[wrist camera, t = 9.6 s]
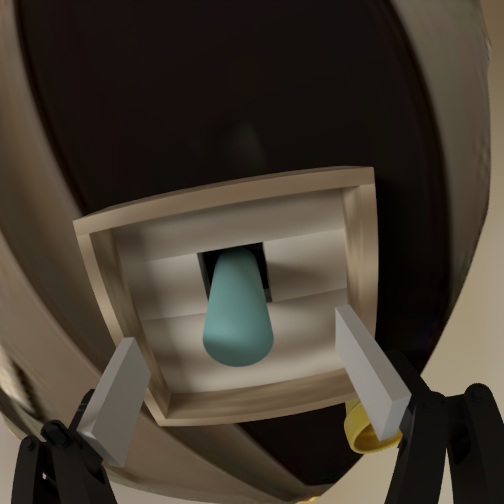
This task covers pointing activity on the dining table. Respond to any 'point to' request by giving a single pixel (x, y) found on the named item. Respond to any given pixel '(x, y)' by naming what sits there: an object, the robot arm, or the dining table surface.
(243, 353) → the peg
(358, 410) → the plant pot
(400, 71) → the dining table surface
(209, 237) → the box
